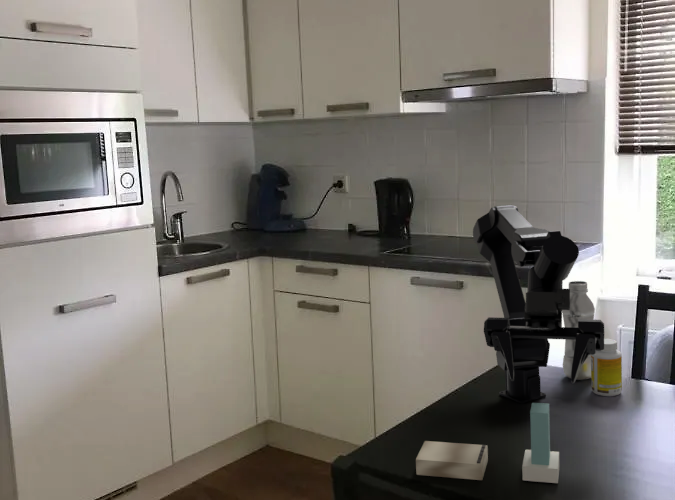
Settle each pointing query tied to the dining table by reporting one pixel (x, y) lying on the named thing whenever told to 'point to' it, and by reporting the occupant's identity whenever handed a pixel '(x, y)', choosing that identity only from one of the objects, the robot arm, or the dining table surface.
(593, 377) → the supplement bottle
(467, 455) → the beige flat block
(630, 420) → the dining table surface
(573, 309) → the plastic bottle
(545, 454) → the teal pillar on base
